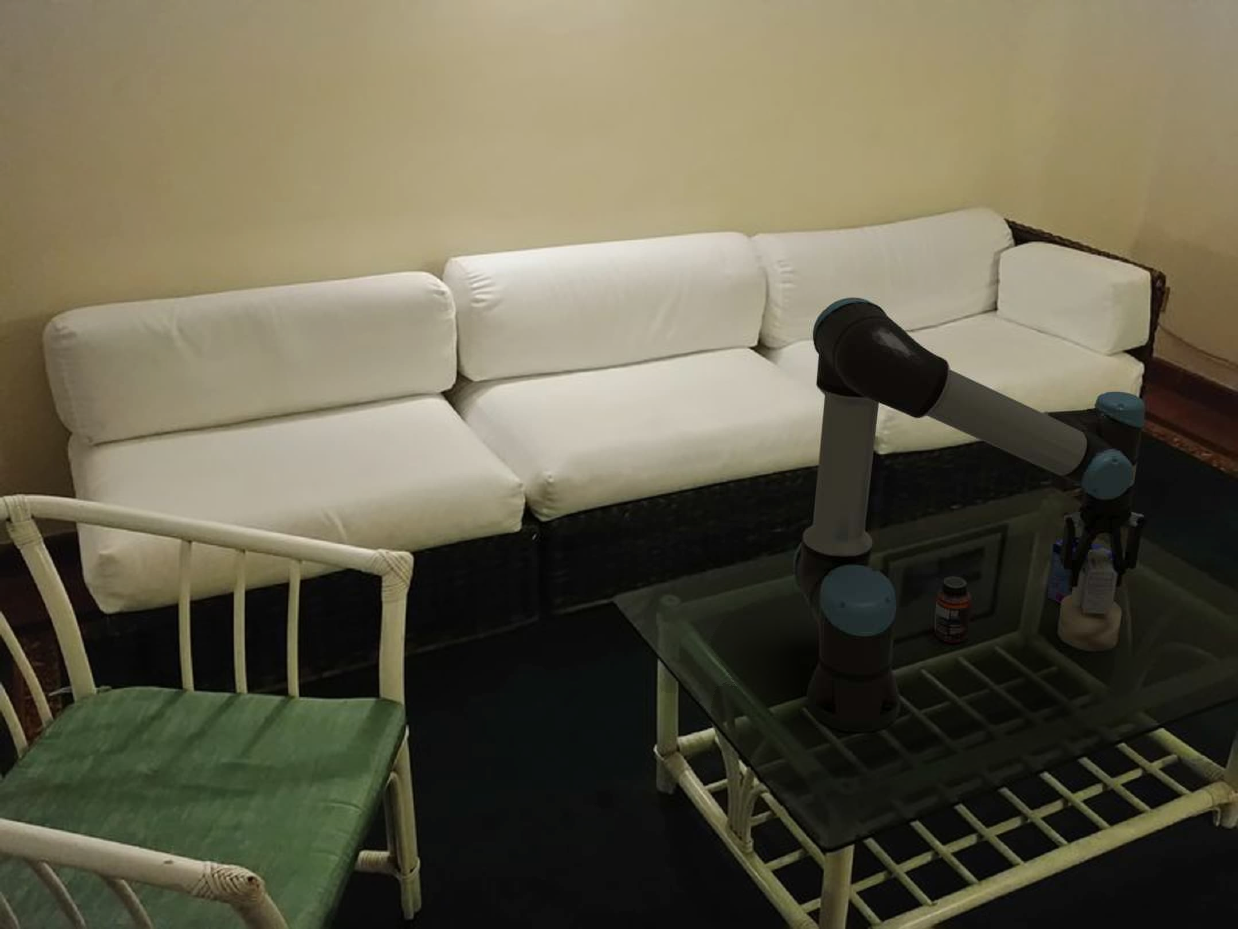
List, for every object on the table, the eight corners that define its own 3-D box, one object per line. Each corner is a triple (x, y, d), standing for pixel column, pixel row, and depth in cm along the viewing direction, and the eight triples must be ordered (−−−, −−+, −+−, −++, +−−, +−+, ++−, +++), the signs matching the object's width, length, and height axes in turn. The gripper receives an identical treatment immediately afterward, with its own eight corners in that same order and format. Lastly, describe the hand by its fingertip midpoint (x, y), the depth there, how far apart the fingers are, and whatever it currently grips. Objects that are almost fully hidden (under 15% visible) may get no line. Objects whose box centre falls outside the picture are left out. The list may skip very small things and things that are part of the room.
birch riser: (1066, 651, 199) (1070, 622, 197) (1050, 621, 208) (1054, 593, 206) (1125, 651, 198) (1129, 622, 196) (1106, 621, 207) (1111, 592, 205)
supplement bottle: (955, 624, 208) (960, 570, 204) (974, 640, 203) (980, 586, 199) (927, 630, 207) (931, 577, 202) (945, 647, 202) (950, 592, 197)
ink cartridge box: (1044, 598, 215) (1053, 530, 209) (1061, 588, 218) (1070, 521, 212) (1092, 619, 208) (1102, 549, 202) (1108, 608, 211) (1119, 539, 205)
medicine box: (1109, 615, 196) (1116, 572, 193) (1081, 613, 197) (1088, 570, 194) (1100, 592, 203) (1107, 549, 200) (1074, 590, 204) (1080, 548, 201)
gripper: (1061, 492, 188) (1045, 612, 197) (1172, 491, 186) (1151, 612, 196) (1048, 473, 195) (1034, 590, 204) (1156, 472, 193) (1136, 590, 203)
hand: (1091, 601), depth 200 cm, fingers closed on medicine box, 5 cm apart
